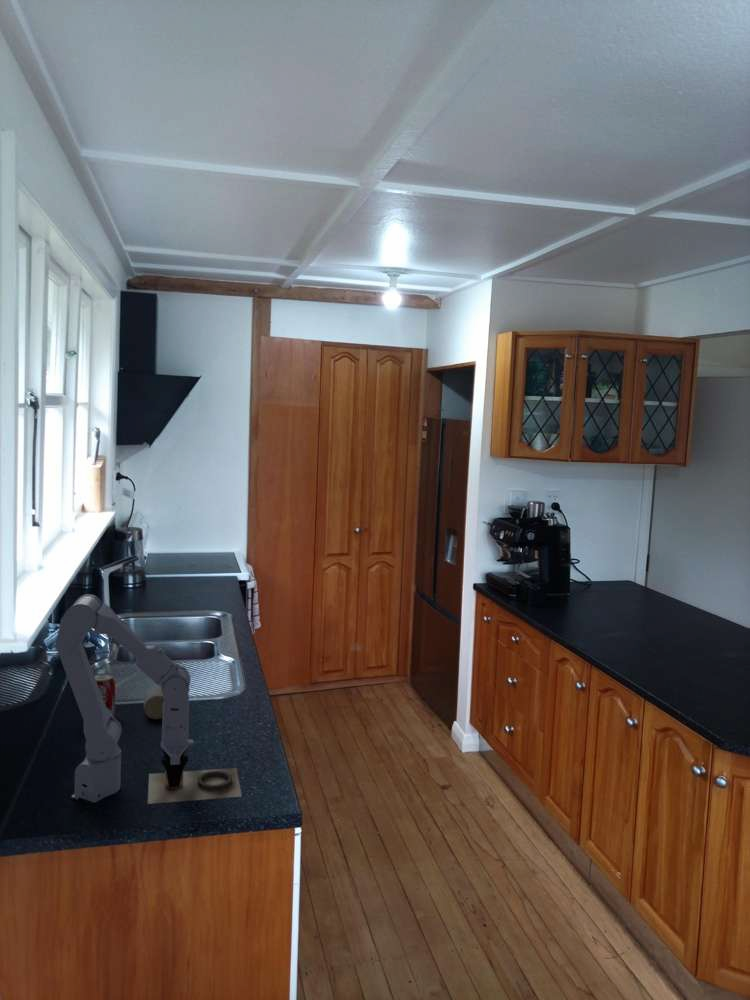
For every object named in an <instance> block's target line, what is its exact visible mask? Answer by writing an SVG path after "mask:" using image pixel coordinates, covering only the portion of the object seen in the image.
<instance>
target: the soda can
mask: <svg viewBox="0 0 750 1000" xmlns="http://www.w3.org/2000/svg"><path fill="white" fill-rule="evenodd" d="M94 676H95V679H96V682H97V684H98V687H99V690H100V692H101V695H102V698H103V700H104V703H105V706H106V707H107V708H108V709H109V710H110V711H111V713H112V715H113V717H114V718H115V714H116V713H115V712H116V711H115V710H116V681H115V679H114V678H113V677H114V676H113V674H110V673H104V672H103V673H96V674H94Z"/></svg>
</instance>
